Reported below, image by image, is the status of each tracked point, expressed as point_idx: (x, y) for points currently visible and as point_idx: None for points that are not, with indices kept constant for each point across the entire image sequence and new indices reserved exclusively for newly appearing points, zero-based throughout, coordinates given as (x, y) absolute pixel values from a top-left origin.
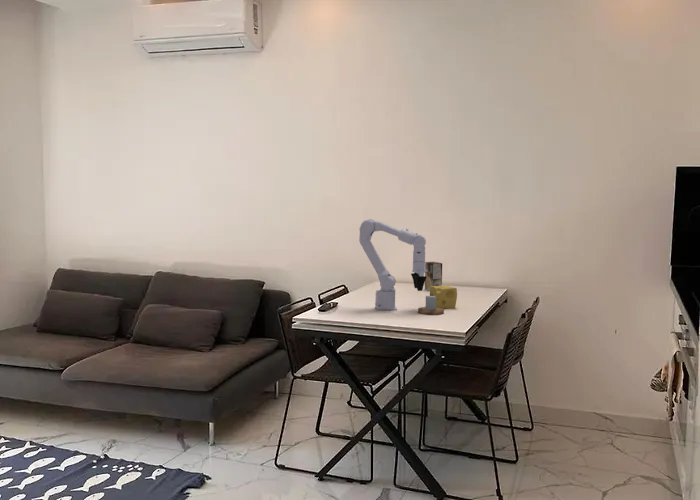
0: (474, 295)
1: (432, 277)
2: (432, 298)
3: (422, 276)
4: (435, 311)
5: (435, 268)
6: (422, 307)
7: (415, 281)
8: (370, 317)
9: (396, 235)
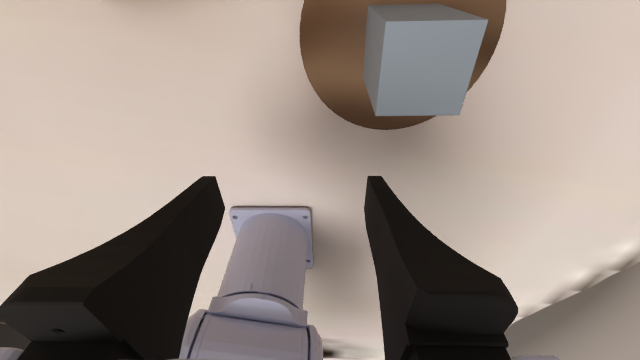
0: None
1: None
2: (470, 60)
3: (500, 350)
4: (497, 20)
5: None
6: (323, 91)
7: (194, 259)
8: None
9: None
